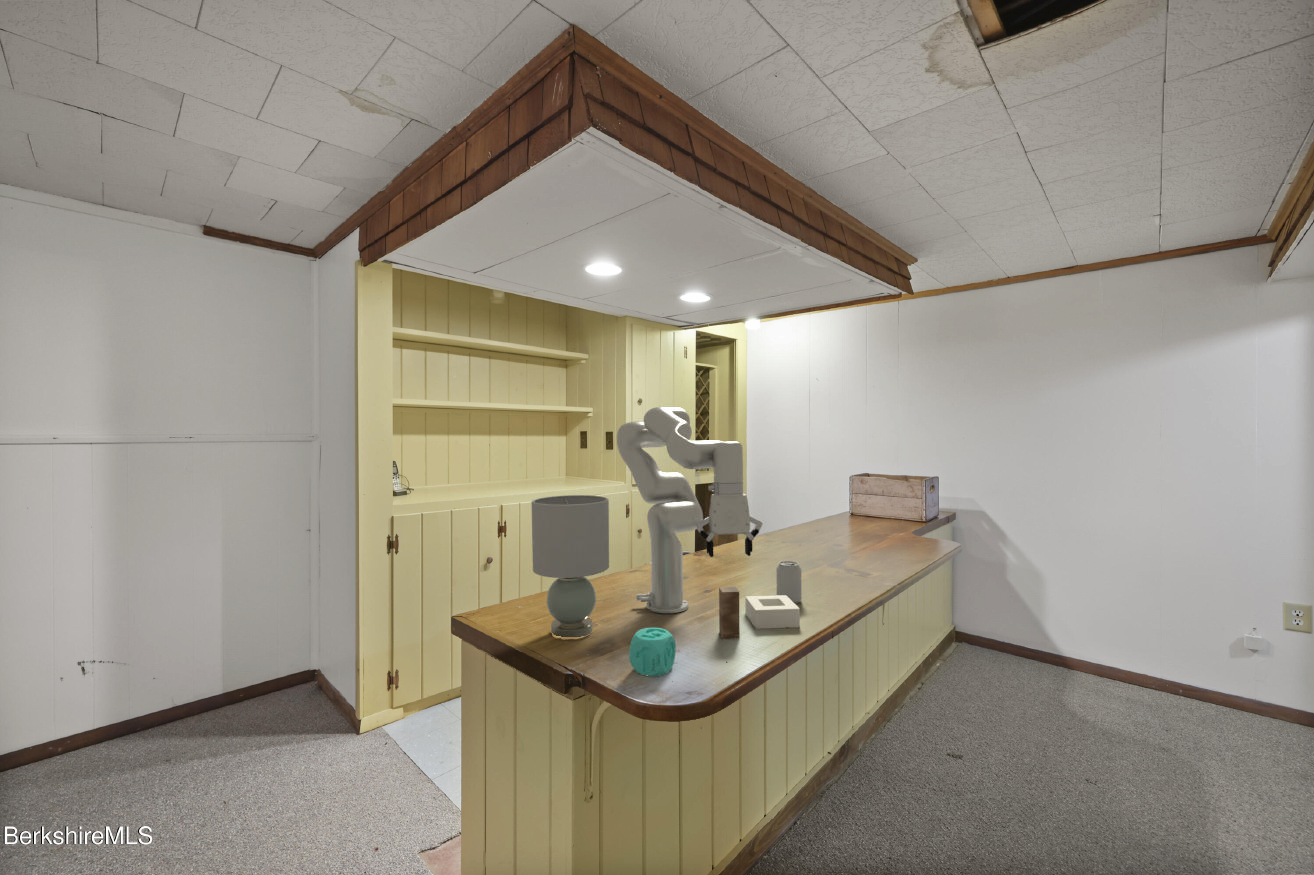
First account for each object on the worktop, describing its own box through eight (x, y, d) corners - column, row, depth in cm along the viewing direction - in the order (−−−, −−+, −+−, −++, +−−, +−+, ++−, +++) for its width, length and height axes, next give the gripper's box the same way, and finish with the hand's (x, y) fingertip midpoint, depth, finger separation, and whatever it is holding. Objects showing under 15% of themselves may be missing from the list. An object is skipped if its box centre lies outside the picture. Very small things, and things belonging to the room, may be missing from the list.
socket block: (755, 628, 147) (755, 610, 147) (745, 613, 159) (745, 596, 159) (799, 627, 148) (799, 608, 148) (786, 612, 160) (786, 595, 160)
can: (802, 605, 166) (802, 566, 166) (776, 604, 168) (776, 565, 167) (800, 598, 173) (800, 560, 173) (776, 596, 175) (776, 559, 175)
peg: (722, 638, 141) (722, 592, 140) (719, 632, 145) (719, 587, 145) (739, 638, 141) (739, 591, 141) (735, 631, 145) (735, 586, 145)
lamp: (565, 654, 132) (563, 507, 131) (517, 633, 145) (516, 500, 145) (625, 631, 147) (624, 498, 146) (577, 614, 160) (576, 493, 160)
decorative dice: (629, 673, 121) (628, 637, 121) (644, 659, 129) (644, 625, 129) (662, 679, 118) (662, 642, 118) (676, 664, 126) (675, 630, 125)
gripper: (697, 491, 138) (698, 559, 138) (765, 489, 139) (766, 557, 139) (693, 488, 145) (694, 553, 145) (757, 487, 147) (758, 551, 147)
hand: (729, 555), depth 142 cm, fingers open, 9 cm apart
